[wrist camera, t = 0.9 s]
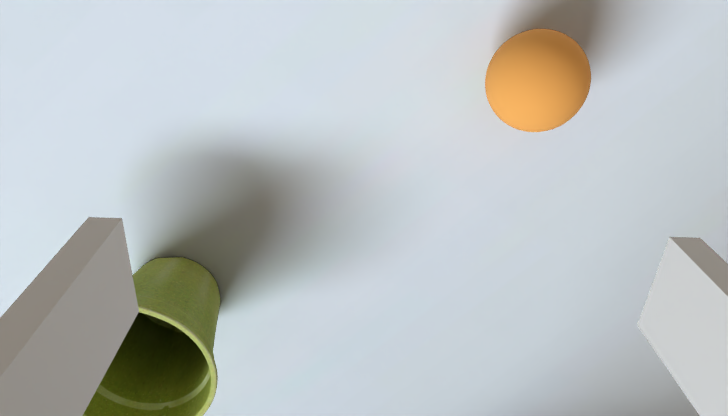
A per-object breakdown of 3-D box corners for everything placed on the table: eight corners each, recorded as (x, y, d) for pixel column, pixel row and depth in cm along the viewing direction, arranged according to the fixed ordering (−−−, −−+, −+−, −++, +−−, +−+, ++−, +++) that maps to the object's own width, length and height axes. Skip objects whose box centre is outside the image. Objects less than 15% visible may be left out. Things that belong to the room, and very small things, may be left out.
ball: (560, 119, 34) (595, 146, 29) (471, 116, 33) (491, 142, 28) (577, 25, 31) (619, 36, 26) (482, 22, 31) (505, 32, 26)
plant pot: (157, 205, 36) (99, 273, 28) (271, 286, 38) (248, 370, 30) (85, 297, 39) (14, 382, 31) (196, 366, 41) (157, 462, 33)
